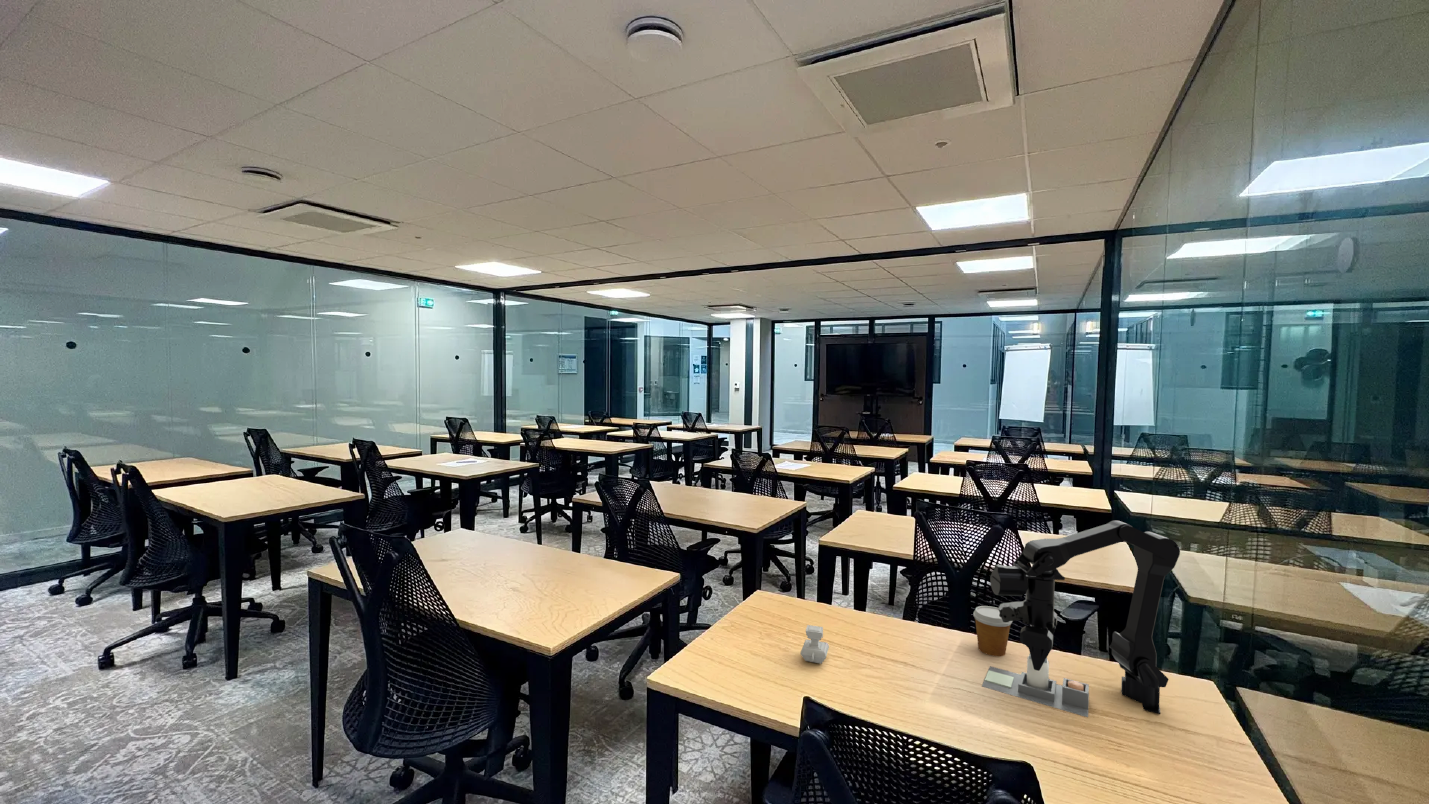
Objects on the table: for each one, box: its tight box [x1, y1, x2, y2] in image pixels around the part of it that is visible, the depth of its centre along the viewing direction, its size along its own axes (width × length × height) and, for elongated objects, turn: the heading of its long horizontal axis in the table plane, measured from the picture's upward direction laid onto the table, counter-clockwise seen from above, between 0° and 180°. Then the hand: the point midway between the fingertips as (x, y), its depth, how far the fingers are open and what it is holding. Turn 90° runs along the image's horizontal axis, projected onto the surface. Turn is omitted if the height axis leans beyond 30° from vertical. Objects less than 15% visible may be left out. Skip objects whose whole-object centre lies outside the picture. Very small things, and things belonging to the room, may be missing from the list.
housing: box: [981, 665, 1090, 718], centre depth 130 cm, size 21×12×5 cm, turn 55°
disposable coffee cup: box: [972, 605, 1013, 657], centre depth 150 cm, size 10×10×12 cm
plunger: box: [1068, 680, 1084, 691], centre depth 125 cm, size 3×3×3 cm
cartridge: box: [1026, 653, 1050, 691], centre depth 130 cm, size 4×4×8 cm
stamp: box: [800, 624, 830, 665], centre depth 146 cm, size 9×7×8 cm
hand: (1038, 662), depth 130 cm, fingers open, 9 cm apart
